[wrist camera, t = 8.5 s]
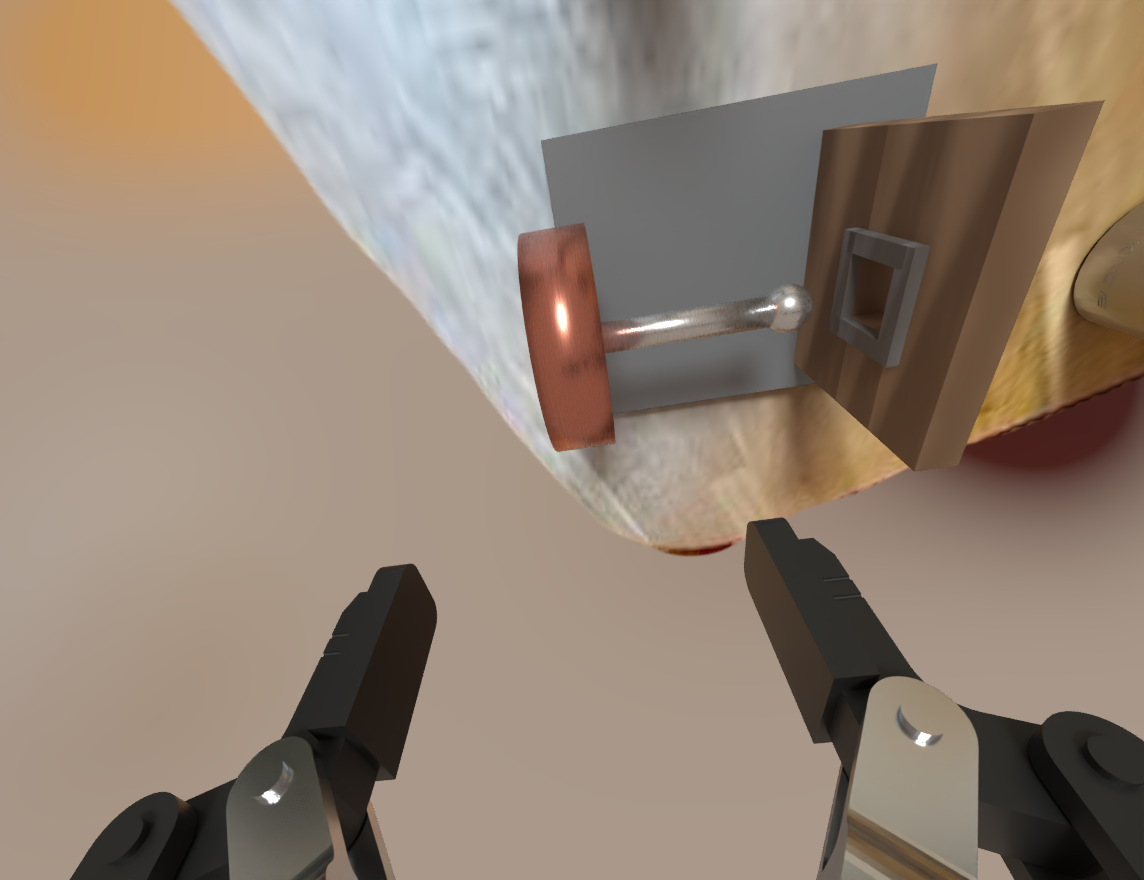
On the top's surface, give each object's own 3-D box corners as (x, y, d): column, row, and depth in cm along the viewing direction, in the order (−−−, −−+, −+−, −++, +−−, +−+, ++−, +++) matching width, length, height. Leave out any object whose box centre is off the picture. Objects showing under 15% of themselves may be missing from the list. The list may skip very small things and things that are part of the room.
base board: (917, 68, 24) (937, 63, 23) (855, 367, 34) (866, 375, 33) (541, 141, 26) (540, 140, 24) (585, 408, 35) (586, 417, 34)
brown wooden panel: (860, 123, 24) (1104, 100, 13) (822, 358, 32) (957, 465, 21) (812, 132, 24) (1014, 117, 14) (785, 364, 32) (901, 473, 21)
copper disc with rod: (775, 173, 24) (912, 188, 15) (760, 361, 30) (850, 455, 21) (526, 219, 25) (507, 260, 15) (560, 392, 31) (560, 495, 21)
